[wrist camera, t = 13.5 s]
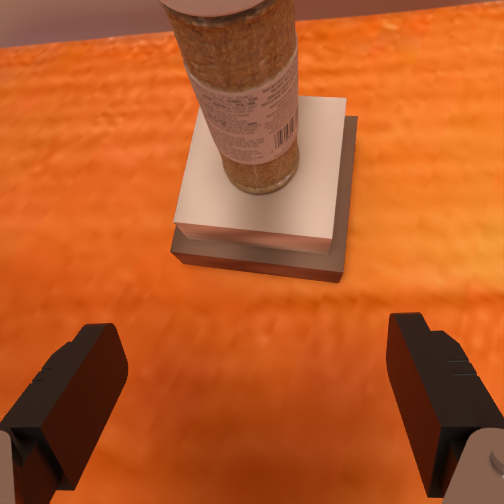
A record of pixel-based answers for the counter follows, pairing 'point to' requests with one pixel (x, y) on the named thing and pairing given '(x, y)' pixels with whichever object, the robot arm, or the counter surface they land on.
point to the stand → (272, 203)
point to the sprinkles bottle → (244, 83)
